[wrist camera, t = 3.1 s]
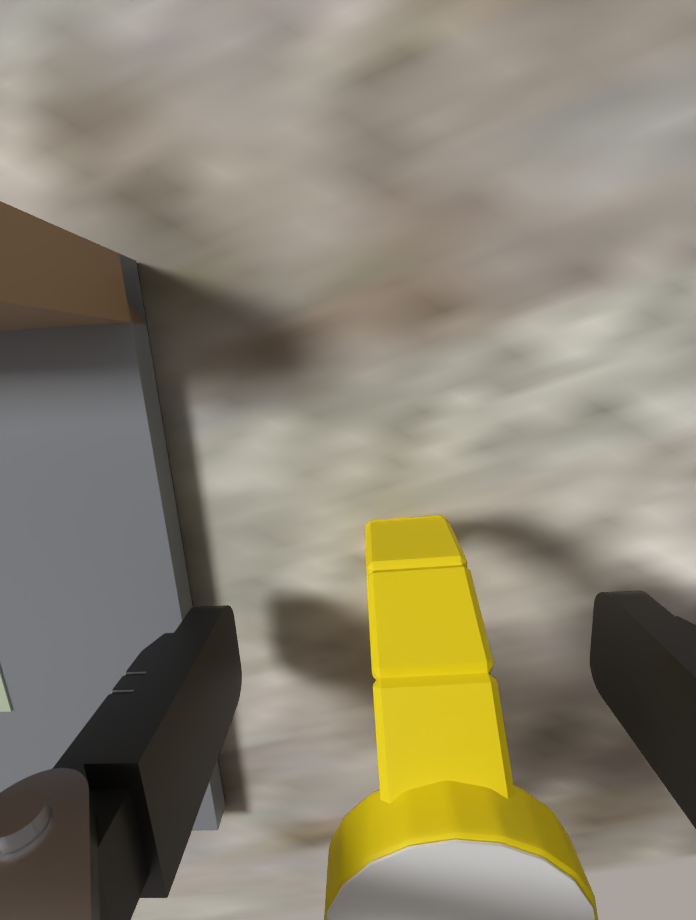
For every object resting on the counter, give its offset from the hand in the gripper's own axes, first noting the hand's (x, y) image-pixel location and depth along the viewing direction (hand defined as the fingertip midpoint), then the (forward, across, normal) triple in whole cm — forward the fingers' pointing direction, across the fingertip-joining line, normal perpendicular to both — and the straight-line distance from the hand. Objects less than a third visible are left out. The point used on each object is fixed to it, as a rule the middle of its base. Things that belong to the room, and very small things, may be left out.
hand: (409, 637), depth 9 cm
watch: (+1, 0, 0) cm, 1 cm away
